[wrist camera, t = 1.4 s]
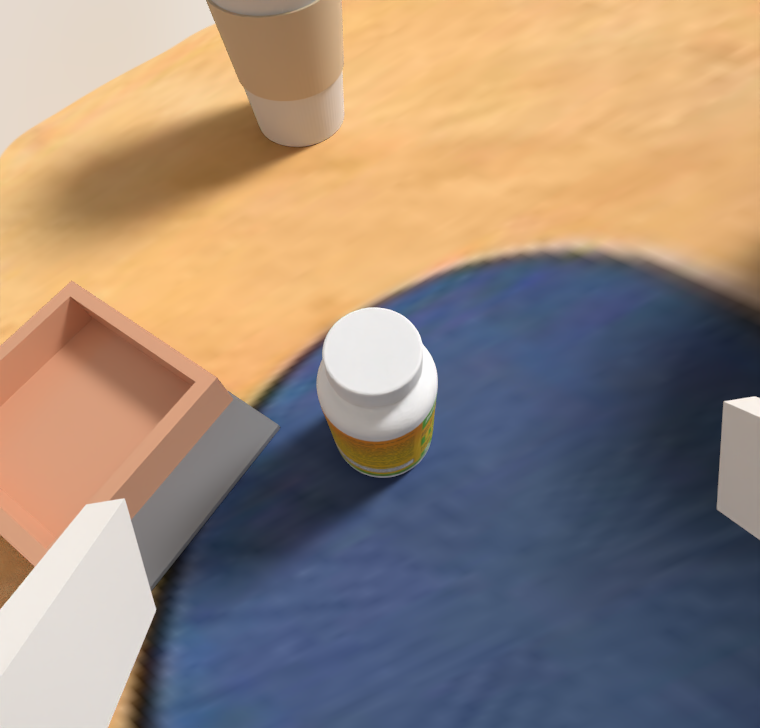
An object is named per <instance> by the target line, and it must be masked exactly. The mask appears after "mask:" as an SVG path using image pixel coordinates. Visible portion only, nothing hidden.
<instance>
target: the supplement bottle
mask: <svg viewBox="0 0 760 728" xmlns="http://www.w3.org/2000/svg"><path fill="white" fill-rule="evenodd" d="M322 357H323V359H322V361H321V364H320V367H319V370H318V374H317V393H318V398H319V402H320V405H321V408H322V410H323V413H324V415H325V418H326V420H327V422H328V425H329V427H330V430H331V433H332V435H333V438H334V440H335V443H336V445H337V448H338V450H339V451H340V453H341V455H342V456H343V458H344V459H345V461H346V462H347V463H348V464H349V465H350V466H351V467H353V468H354V469H355V470H357V471H359V472H361V473H363V474H365V475H368V476H372V477H379V478H387V477H394V476H398V475H401V474H403V473H405V472H407V471H409V470H411V469H412V468H413V467H415V466H416V465H417V464H418V463H419V462H420V461H421V460H422V459H423V457H424V456H425V454H426V452H427V451H428V448H429V446H430V443H431V439H432V433H433V424H434V413H435V405H436V396H437V387H438V383H437V371H436V367H435V364H434V361H433V359H432V357H431V355H430V353H429V352H428V350H427V349H426V348H425V347H424V345H423V344H422V341H421V337H420V335H419V333H418V331H417V329H416V328H415V327H414V325H413V324H412V323H411V322H410V321H409V320H408V319H407V318H405V317H404V316H402V315H401V314H399V313H397V312H394V311H392V310H389V309H384V308H364V309H360V310H356V311H353V312H351V313H349V314H347V315H345V316H344V317H342V318H341V319H340V320H338V321H337V322H336V323H335V324H334V325H333V326H332V328H331V329H330V330H329V332H328V334H327V336H326V338H325V341H324V345H323V351H322Z"/></svg>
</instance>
